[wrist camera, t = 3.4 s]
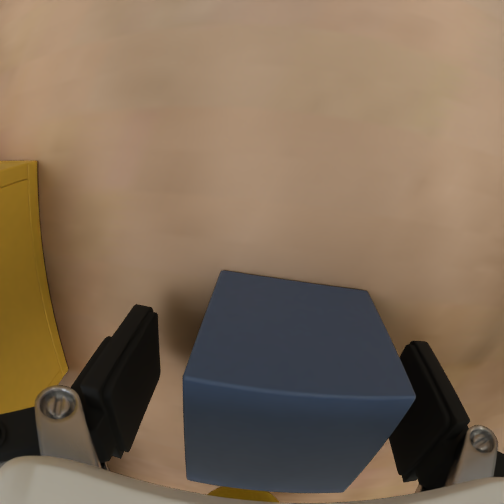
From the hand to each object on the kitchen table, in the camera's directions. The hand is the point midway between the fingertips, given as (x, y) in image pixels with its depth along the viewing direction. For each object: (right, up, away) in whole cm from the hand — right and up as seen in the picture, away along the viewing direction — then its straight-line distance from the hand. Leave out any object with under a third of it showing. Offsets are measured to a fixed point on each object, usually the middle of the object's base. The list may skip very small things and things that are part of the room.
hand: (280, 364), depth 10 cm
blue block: (0, +1, +1) cm, 1 cm away
